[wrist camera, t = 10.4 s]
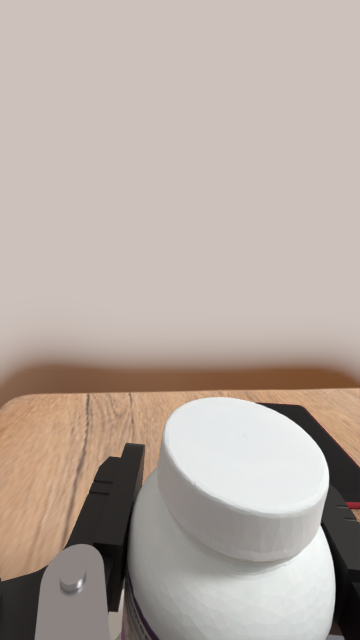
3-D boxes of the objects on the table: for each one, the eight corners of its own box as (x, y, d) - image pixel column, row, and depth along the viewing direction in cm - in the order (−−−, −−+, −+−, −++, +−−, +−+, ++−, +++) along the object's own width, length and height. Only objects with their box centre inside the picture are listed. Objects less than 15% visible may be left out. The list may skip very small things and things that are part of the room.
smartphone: (302, 404, 36) (396, 505, 21) (301, 410, 36) (393, 514, 21) (251, 401, 35) (311, 502, 21) (250, 407, 35) (309, 512, 21)
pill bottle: (201, 558, 12) (230, 372, 10) (313, 711, 8) (400, 458, 6) (88, 660, 9) (97, 412, 7) (188, 999, 5) (285, 658, 3)
